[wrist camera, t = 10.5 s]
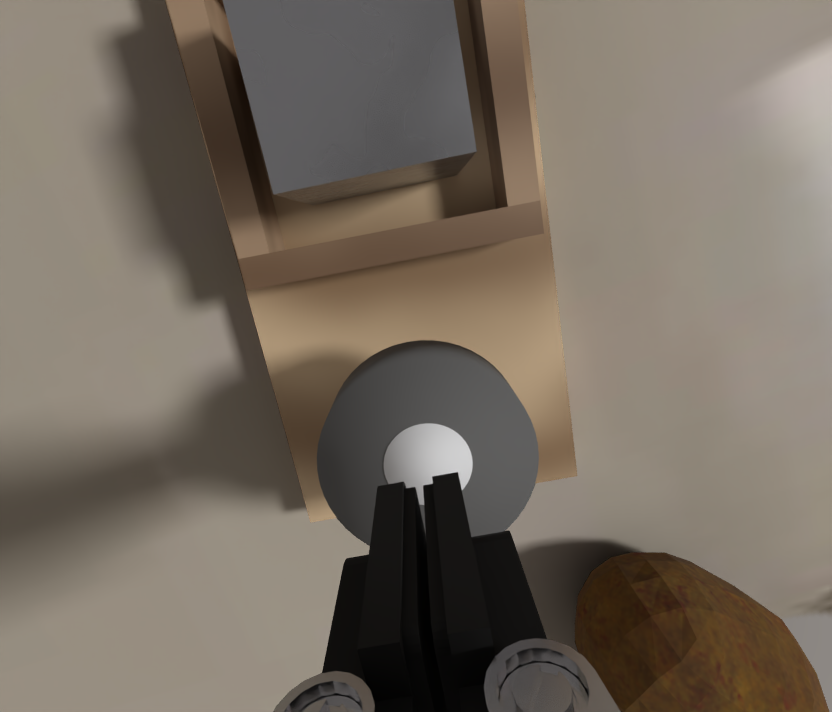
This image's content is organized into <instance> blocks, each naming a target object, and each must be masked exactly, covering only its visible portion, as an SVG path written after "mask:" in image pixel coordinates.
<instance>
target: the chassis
mask: <svg viewBox="0 0 832 712" xmlns="http://www.w3.org/2000/svg"><path fill="white" fill-rule="evenodd" d="M453 1H454V7H455V14H456V20H457V27H458V33H459V40H460V46H461V53H462V59H463V66H464V72H465V78H466V85H467V91H468V98H469V104H470V111H471V117H472V124H473V130H474V137H475V143H476V150H477V152H476V153H475V154H474V155H473V157H472V158H471V159H470V160H469V161H468V163H467V164H466V165H465V166H464V167H463V168H462V170H461V171H460V172H459V173H458V174H457V175H456V176H452V177H447V178H442V179H437V180H433V181H428V182H423V183H418V184H414V185H409V186H404V187H399V188H394V189H390V190H385V191H380V192H375V193H371V194H366V195H361V196H356V197H352V198H347V199H342V200H337V201H332V202H328V203H323V204H318V205H310V204H306V203H303V202H299V201H295V200H292V199H288V198H284V197H281V196H277V195H274V194H273V191H272V187H271V183H270V179H269V175H268V172H267V168H266V164H265V160H264V156H263V153H262V149H261V145H260V141H259V137H258V133H257V130H256V126H255V122H254V118H253V114H252V111H251V107H250V103H249V99H248V95H247V91H246V88H245V84H244V80H243V76H242V72H241V69H240V65H239V61H238V57H237V53H236V49H235V46H234V42H233V38H232V34H231V30H230V27H229V23H228V19H227V15H226V11H225V7H224V4H223V0H165V2H166V6H167V9H168V13H169V17H170V20H171V24H172V27H173V31H174V34H175V38H176V42H177V45H178V49H179V52H180V56H181V60H182V63H183V67H184V70H185V74H186V78H187V81H188V85H189V88H190V92H191V95H192V99H193V103H194V106H195V110H196V113H197V117H198V121H199V124H200V128H201V131H202V135H203V139H204V142H205V146H206V149H207V153H208V156H209V160H210V164H211V167H212V171H213V174H214V178H215V182H216V185H217V189H218V192H219V196H220V200H221V203H222V207H223V210H224V214H225V217H226V221H227V225H228V228H229V232H230V235H231V239H232V243H233V246H234V250H235V253H236V257H237V261H238V264H239V268H240V271H241V275H242V278H243V282H244V286H245V289H246V293H247V296H248V300H249V304H250V307H251V311H252V314H253V318H254V322H255V325H256V329H257V332H258V336H259V339H260V343H261V347H262V350H263V354H264V357H265V361H266V365H267V368H268V372H269V375H270V379H271V383H272V386H273V390H274V393H275V397H276V400H277V404H278V408H279V411H280V415H281V418H282V422H283V426H284V429H285V433H286V436H287V440H288V444H289V447H290V451H291V454H292V458H293V461H294V465H295V469H296V472H297V476H298V479H299V483H300V487H301V490H302V494H303V497H304V501H305V505H306V508H307V512H308V515H309V519H310V522H316V521H322V520H328V519H333V518H337V517H336V516H335V515H334V513H333V512H332V510H331V509H330V507H329V505H328V503H327V501H326V499H325V497H324V495H323V492H322V489H321V486H320V482H319V477H318V472H317V449H318V442H319V438H320V434H321V431H322V428H323V426H324V423H325V421H326V418H327V416H328V414H329V412H330V409H331V407H332V405H333V402H334V400H335V398H336V396H337V393H338V392H339V390H340V388H341V387H342V385H343V383H344V382H345V380H346V379H347V378H348V377H349V375H350V374H351V373H352V372H353V371H354V370H355V369H356V368H357V367H358V366H359V365H360V364H361V363H362V362H364V361H365V360H367V359H368V358H369V357H371V356H372V355H374V354H376V353H378V352H379V351H381V350H383V349H386V348H388V347H391V346H393V345H397V344H401V343H405V342H410V341H418V340H435V341H443V342H448V343H452V344H456V345H460V346H462V347H464V348H467V349H469V350H472V351H473V352H475V353H477V354H478V355H480V356H482V357H483V358H485V359H486V360H487V361H489V362H490V363H491V364H492V365H494V367H495V368H496V369H497V370H498V371H499V372H500V373H501V374H502V375H503V376H504V378H505V379H506V380H507V382H508V383H509V385H510V386H511V388H512V389H513V391H514V392H515V394H516V395H517V397H518V398H519V400H520V401H521V403H522V405H523V406H524V408H525V409H526V411H527V413H528V415H529V417H530V419H531V421H532V424H533V427H534V430H535V432H536V437H537V442H538V451H539V464H538V473H537V478H536V482H535V483H540V482H545V481H551V480H557V479H562V478H568V477H574V476H577V468H576V459H575V451H574V442H573V433H572V424H571V415H570V406H569V397H568V388H567V379H566V370H565V361H564V352H563V343H562V334H561V326H560V317H559V308H558V299H557V290H556V281H555V272H554V263H553V254H552V245H551V236H550V227H549V218H548V209H547V200H546V192H545V183H544V174H543V165H542V156H541V147H540V138H539V129H538V120H537V111H536V102H535V93H534V84H533V75H532V66H531V58H530V49H529V40H528V31H527V22H526V13H525V4H524V0H453Z"/></svg>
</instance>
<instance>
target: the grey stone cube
mask: <svg viewBox="0 0 832 712" xmlns="http://www.w3.org/2000/svg"><path fill="white" fill-rule="evenodd" d="M223 4H224V7H225V11H226V15H227V19H228V23H229V27H230V30H231V34H232V38H233V42H234V46H235V49H236V53H237V57H238V61H239V65H240V69H241V72H242V76H243V80H244V84H245V88H246V91H247V95H248V99H249V103H250V107H251V111H252V114H253V118H254V122H255V126H256V130H257V133H258V137H259V141H260V145H261V149H262V153H263V156H264V160H265V164H266V168H267V172H268V175H269V179H270V183H271V187H272V191H273V194H274V195H277V196H281V197H284V198H288V199H292V200H295V201H299V202H303V203H306V204H310V205H318V204H323V203H328V202H332V201H337V200H342V199H347V198H352V197H356V196H361V195H366V194H371V193H375V192H380V191H385V190H390V189H394V188H399V187H404V186H409V185H414V184H418V183H423V182H428V181H433V180H437V179H442V178H447V177H452V176H456V175H457V174H458V173H459V172H460V171H461V170H462V168H463V167H464V166H465V165H466V164H467V163H468V161H469V160H470V159H471V158H472V157H473V155H474V154H475V153H476V152H477V150H476V143H475V137H474V130H473V124H472V117H471V111H470V104H469V98H468V91H467V85H466V78H465V72H464V66H463V59H462V53H461V46H460V40H459V33H458V27H457V20H456V14H455V7H454V1H453V0H223Z"/></svg>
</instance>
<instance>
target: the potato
mask: <svg viewBox="0 0 832 712" xmlns="http://www.w3.org/2000/svg"><path fill="white" fill-rule="evenodd" d="M575 644H576V647H577V650H578V652H579V653H580V654H581V655H583V656H584V657H585V658H586V660H587V661H588V662H589V663H590V664H591V666H592V667H593V668H594V669H595V671H596V672H597V674H598V676H599V677H600V679H601V681H602V682H603V684H604V685H605V687H606V689H607V690H608V692H609V694H610V695H611V697H612V698H613V700H614V702H615V703H616V705H617V707H618V708H619V710H620V711H622V712H829V709H828V706H827V704H826V700H825V697H824V695H823V692H822V688H821V685H820V683H819V680H818V677H817V674H816V672H815V670H814V668H813V667H812V665H811V664H810V662H809V660H808V659H807V657H806V655H805V654H804V652H803V651H802V649H801V647H800V646H799V644H798V642H797V641H796V639H795V638H794V636H793V635H792V634H791V632H790V631H789V629H788V628H787V626H786V625H785V623H784V622H783V621H782V619H780V618H779V617H777V616H776V615H775V614H773V613H772V612H770V611H769V610H768V609H766V608H765V607H763V606H762V605H761V604H759V603H758V602H756V601H755V600H754V599H752V598H751V597H749V596H748V595H746V594H745V593H743V592H742V591H740V590H739V589H738V588H736V587H735V586H733V585H731V584H730V583H728V582H726V581H724V580H722V579H721V578H719V577H717V576H715V575H713V574H712V573H710V572H708V571H706V570H704V569H703V568H701V567H699V566H697V565H695V564H693V563H692V562H690V561H687V560H684V559H681V558H678V557H676V556H673V555H670V554H667V553H635V552H631V553H627V554H623V555H619V556H615V557H611V558H609V559H608V560H607V561H605V562H604V563H603V564H601V565H600V566H598V567H597V568H596V569H594V570H593V571H592V572H591V573H590V575H589V577H588V579H587V580H586V582H585V584H584V586H583V587H582V589H581V591H580V593H579V594H578V600H577V609H576V617H575Z"/></svg>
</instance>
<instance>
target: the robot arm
mask: <svg viewBox="0 0 832 712" xmlns="http://www.w3.org/2000/svg"><path fill="white" fill-rule="evenodd" d="M432 481H433V484H428V485H423V493H424V511H425V528H426V534H425V529H424V524H423V520H422V515H421V510H420V505H419V500H418V496H417V491H416V488H415V487H411V488H406V486H405V483H404V482H398V483H393V484H387V485H381V486H378V487H377V493H376V501H375V510H374V518H373V526H372V534H371V542H370V550H369V555H364V556H358V557H352V558H347V559H346V560H345V562H344V565H343V570H342V575H341V580H340V585H339V590H338V595H337V600H336V605H335V611H334V616H333V621H332V626H331V631H330V636H329V641H328V646H327V651H326V656H325V661H324V666H323V671H322V673H321V674H318V675H316V676H314V677H311V678H309V679H307V680H305V681H303V682H302V683H300V684H299V685H298V686H296V687H295V688H294V689H292V690H291V691H289V693H288V694H287V695H286V696H285V697H284V698H283V699H282V700H281V701H280V703H279V704H278V705H277V706H276V708H275V709H274V711H273V712H622V711H620V710H619V708H618V707H617V705H616V703H615V702H614V700H613V698H612V697H611V695H610V694H609V692H608V690H607V689H606V687H605V685H604V684H603V682H602V681H601V679H600V677H599V676H598V674H597V672H596V671H595V669H594V668H593V667H592V666H591V664H590V663H589V662H588V661H587V660H586V658H585V657H584V656H583V655H581V654H580V653H578V652H577V651H576V650H574V649H573V648H571V647H570V646H568V645H565V644H563V643H560V642H557V641H554V640H549V639H547V638H546V635H545V632H544V629H543V626H542V623H541V620H540V618H539V615H538V612H537V609H536V606H535V603H534V600H533V597H532V594H531V591H530V588H529V585H528V582H527V579H526V577H525V574H524V571H523V568H522V565H521V562H520V559H519V556H518V553H517V550H516V547H515V544H514V541H513V539H512V536H511V533H510V531H503V532H498V533H492V534H486V535H480V536H474V537H471V532H470V528H469V523H468V518H467V513H466V508H465V504H464V499H463V494H462V489H461V484H460V479H459V475H458V472H455V473H449V474H443V475H438V476H432Z"/></svg>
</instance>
